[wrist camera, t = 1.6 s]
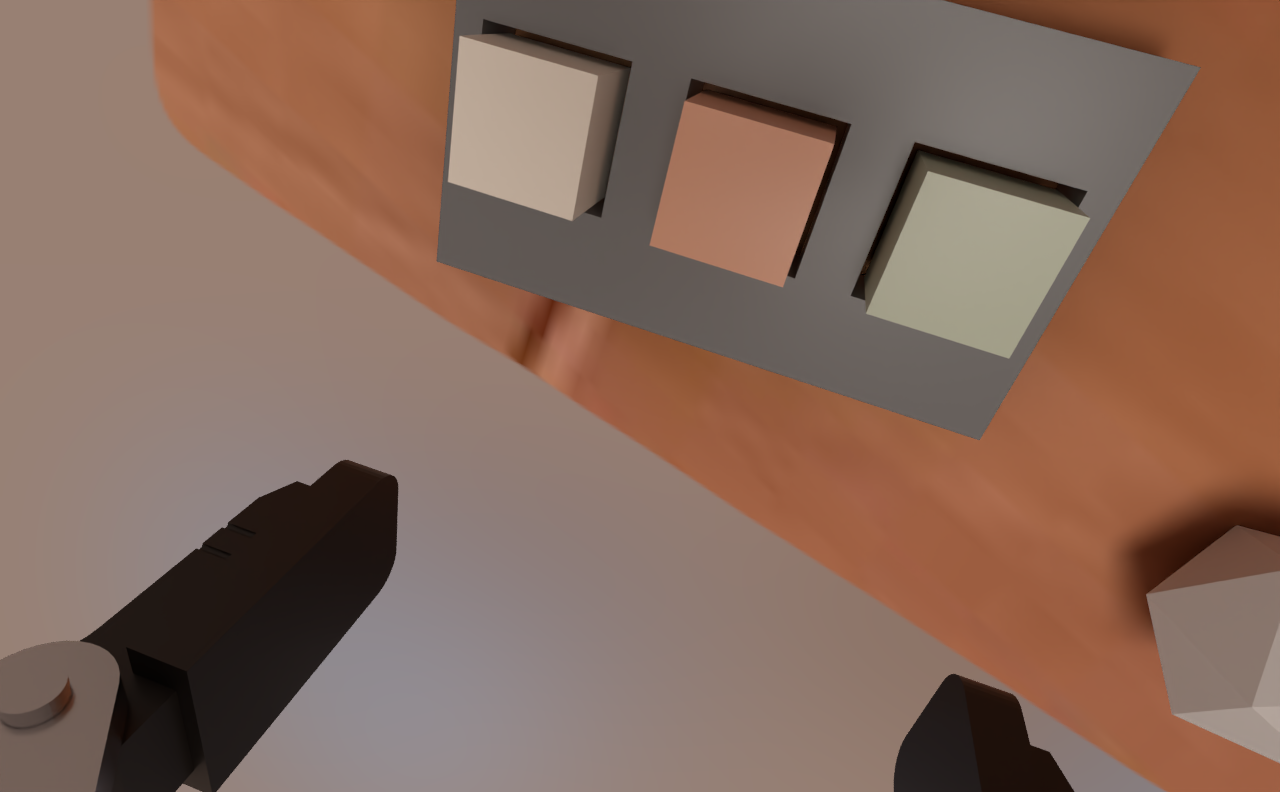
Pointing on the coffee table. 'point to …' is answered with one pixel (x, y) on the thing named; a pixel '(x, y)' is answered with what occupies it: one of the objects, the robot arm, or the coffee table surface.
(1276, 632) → the die
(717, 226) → the key terracotta
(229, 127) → the coffee table surface
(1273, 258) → the coffee table surface
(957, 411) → the key panel
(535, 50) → the key ivory
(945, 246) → the key sage
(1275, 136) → the coffee table surface
